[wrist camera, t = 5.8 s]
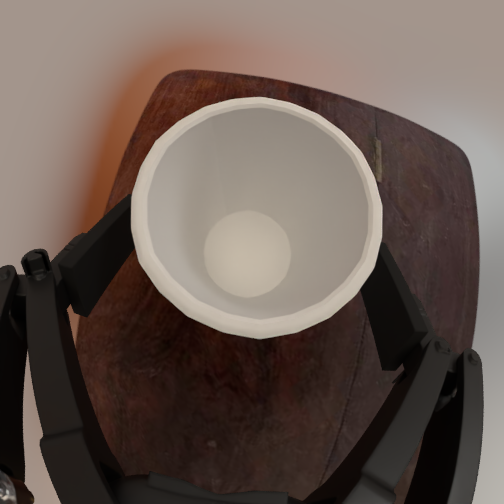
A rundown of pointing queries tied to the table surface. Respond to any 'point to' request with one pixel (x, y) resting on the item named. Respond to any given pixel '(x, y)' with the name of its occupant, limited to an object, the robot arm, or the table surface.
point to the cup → (256, 217)
